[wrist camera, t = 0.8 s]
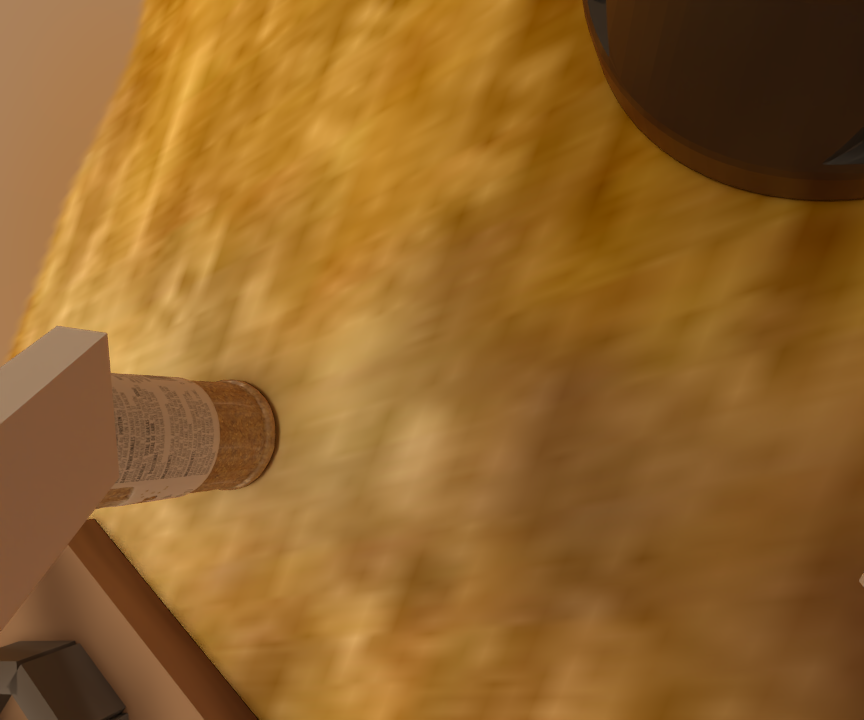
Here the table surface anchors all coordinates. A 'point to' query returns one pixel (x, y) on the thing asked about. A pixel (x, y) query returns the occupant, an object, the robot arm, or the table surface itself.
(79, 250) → the table surface
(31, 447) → the robot arm
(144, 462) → the sprinkles bottle
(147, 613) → the carrier board
